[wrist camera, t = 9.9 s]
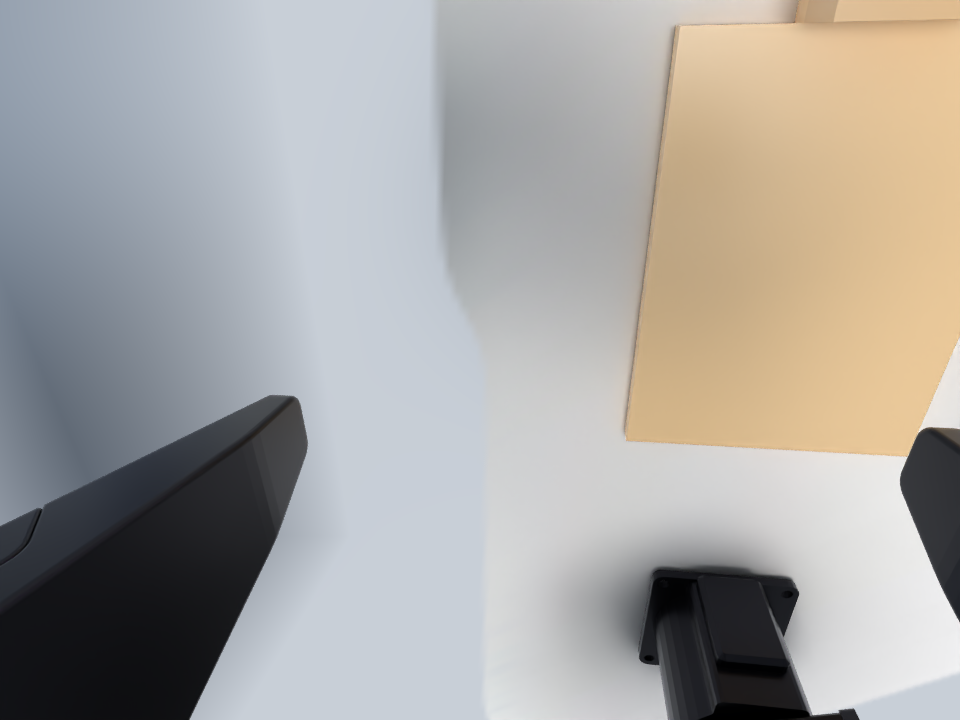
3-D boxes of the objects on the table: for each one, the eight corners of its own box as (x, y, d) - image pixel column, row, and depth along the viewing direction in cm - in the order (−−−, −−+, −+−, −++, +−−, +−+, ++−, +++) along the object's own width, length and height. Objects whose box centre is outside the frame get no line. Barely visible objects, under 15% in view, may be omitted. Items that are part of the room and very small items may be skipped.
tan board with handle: (896, 443, 23) (936, 492, 21) (624, 428, 24) (631, 473, 22) (1179, -234, 13) (1315, -293, 11) (704, -204, 15) (733, -250, 12)
